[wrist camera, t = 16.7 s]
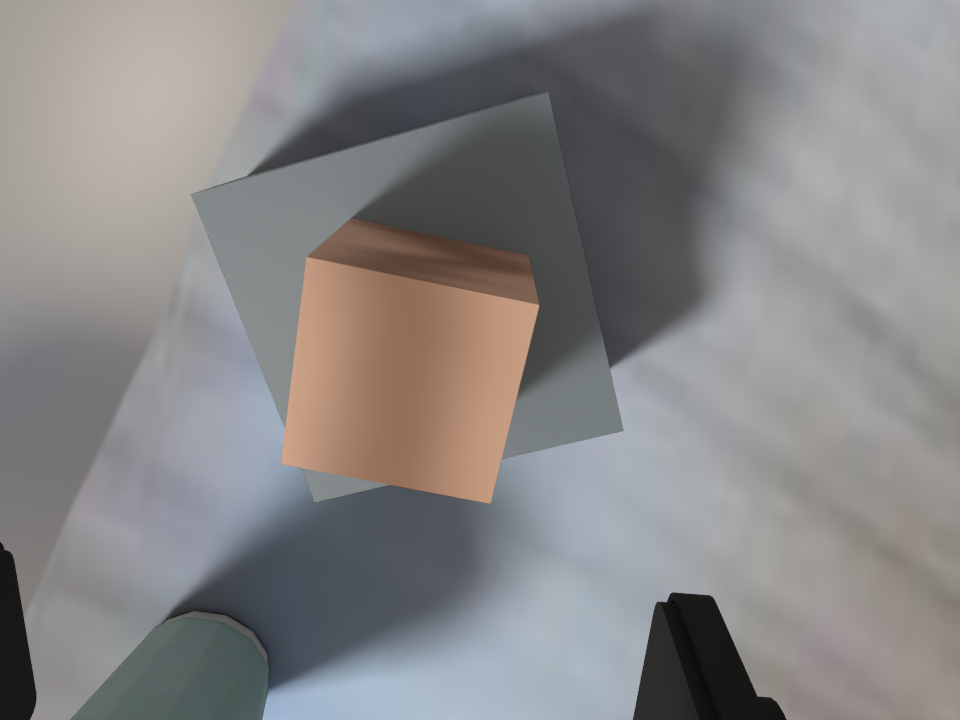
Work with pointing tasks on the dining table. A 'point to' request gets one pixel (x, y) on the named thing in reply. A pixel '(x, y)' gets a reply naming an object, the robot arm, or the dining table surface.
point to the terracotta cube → (408, 359)
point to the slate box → (440, 212)
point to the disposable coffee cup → (187, 674)
